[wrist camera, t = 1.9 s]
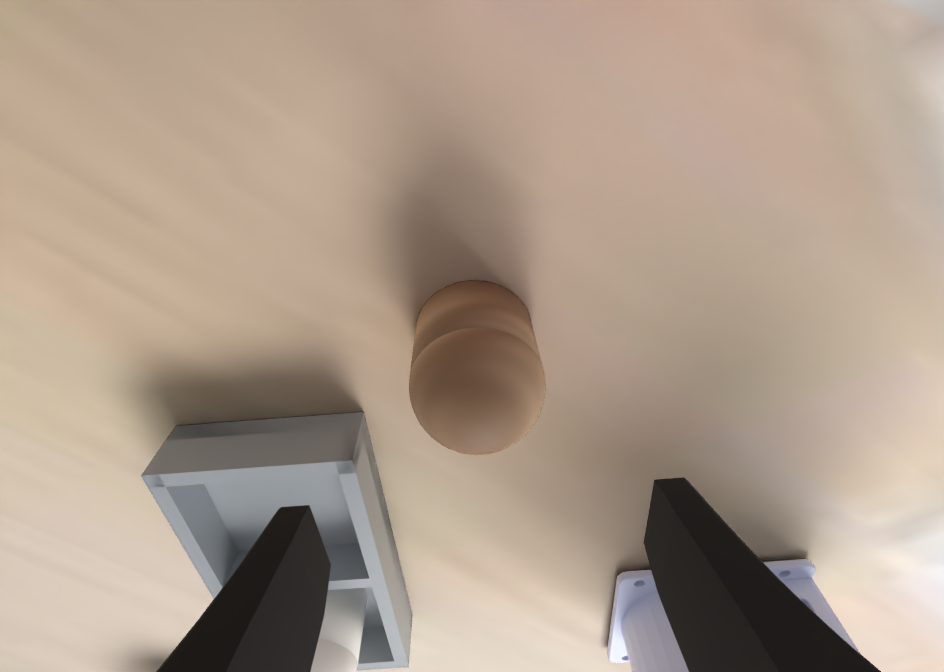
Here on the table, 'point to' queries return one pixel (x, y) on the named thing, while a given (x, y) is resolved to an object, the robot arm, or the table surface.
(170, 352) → the table surface
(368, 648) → the holder
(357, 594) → the cream egg
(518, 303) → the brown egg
